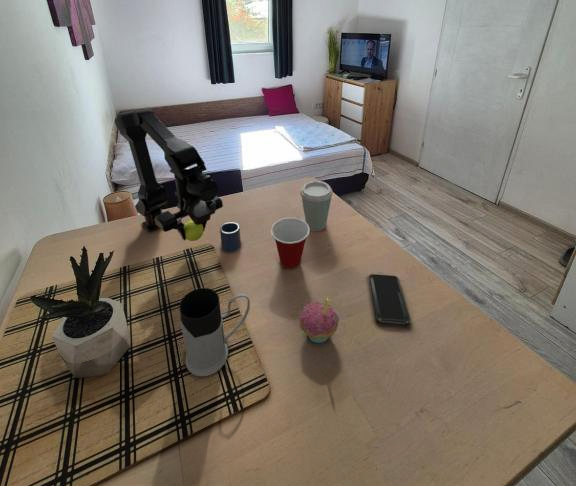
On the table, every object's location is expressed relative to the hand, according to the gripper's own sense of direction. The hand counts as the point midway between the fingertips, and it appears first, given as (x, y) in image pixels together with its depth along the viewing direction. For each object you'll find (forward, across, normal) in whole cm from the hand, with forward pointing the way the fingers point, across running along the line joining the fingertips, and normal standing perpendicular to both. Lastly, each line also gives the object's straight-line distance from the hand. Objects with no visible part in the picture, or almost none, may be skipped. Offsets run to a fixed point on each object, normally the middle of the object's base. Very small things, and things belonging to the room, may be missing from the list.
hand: (193, 235), depth 97 cm
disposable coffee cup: (+6, +36, -17) cm, 40 cm away
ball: (-2, 0, 0) cm, 2 cm away
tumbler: (+6, +9, -6) cm, 12 cm away
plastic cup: (+6, +17, -24) cm, 30 cm away
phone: (+6, +25, -51) cm, 57 cm away
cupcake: (+6, +5, -45) cm, 46 cm away
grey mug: (+6, -13, -33) cm, 36 cm away
